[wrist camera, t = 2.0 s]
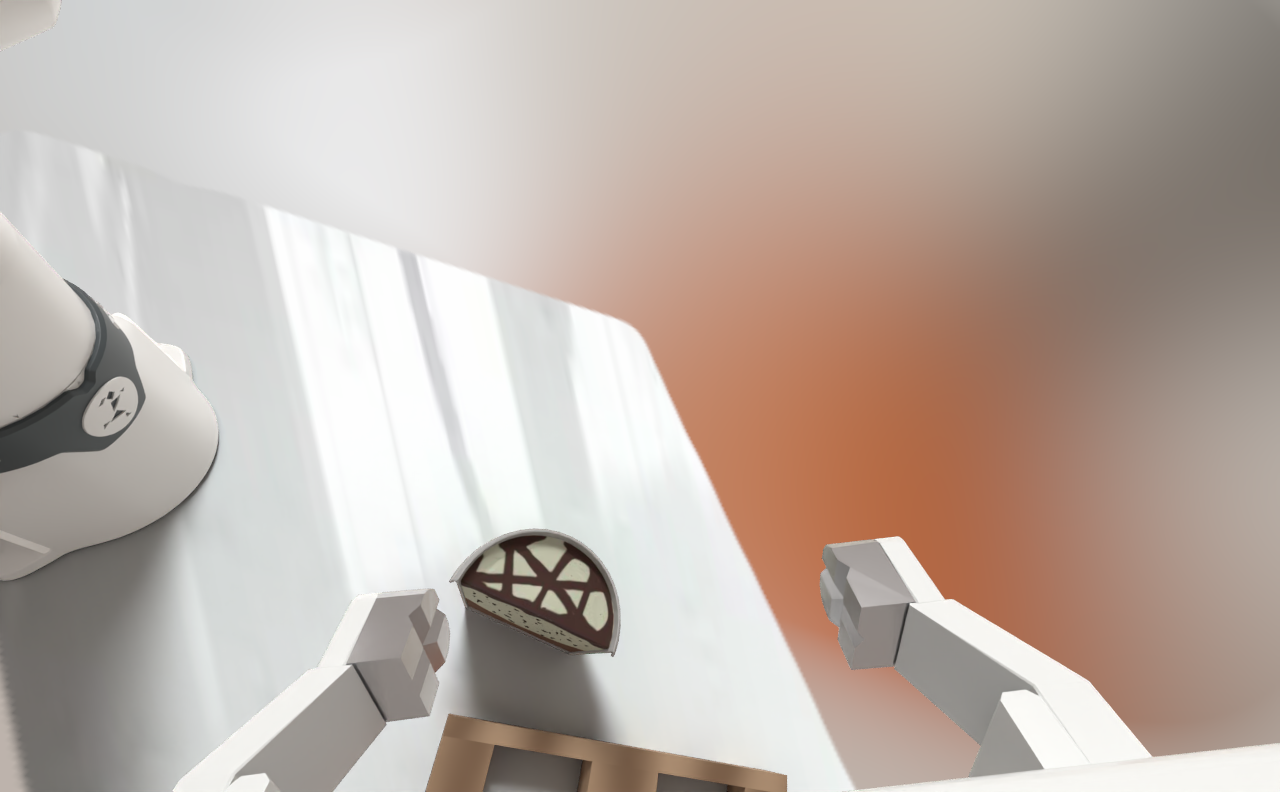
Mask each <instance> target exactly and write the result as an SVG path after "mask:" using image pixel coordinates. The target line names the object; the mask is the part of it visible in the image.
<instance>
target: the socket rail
mask: <svg viewBox="0 0 1280 792" xmlns="http://www.w3.org/2000/svg"><path fill="white" fill-rule="evenodd" d="M494 745H499V746H505V747H511V748H517V749H523V750H529V751H535V752H540V753H546V754H552V755H558V756H564V757H570V758H576V759H581V760H583V761H582V766H581V772H580V778H579V783H578V789H577V792H656V789H657V780H658V773H663V774H669V775H675V776H681V777H687V778H692V779H698V780H704V781H710V782H716V783H722V784H727V792H787V775H783V774H779V773H775V772H770V771H766V770H760V769H755V768H749V767H744V766H738V765H732V764H727V763H721V762H716V761H710V760H705V759H699V758H693V757H688V756H682V755H677V754H671V753H665V752H660V751H654V750H649V749H643V748H638V747H632V746H626V745H621V744H615V743H610V742H604V741H598V740H593V739H587V738H582V737H576V736H571V735H565V734H559V733H554V732H548V731H543V730H537V729H531V728H526V727H520V726H515V725H509V724H504V723H498V722H492V721H487V720H481V719H476V718H470V717H464V716H459V715H453V714H448V718H447V721H446V724H445V728H444V731H443V734H442V738H441V741H440V744H439V748H438V751H437V754H436V758H435V761H434V764H433V768H432V771H431V774H430V778H429V781H428V784H427V788H426V791H425V792H483V788H484V784H485V780H486V776H487V772H488V768H489V764H490V760H491V756H492V753H493V749H494Z"/></svg>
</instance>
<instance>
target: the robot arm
mask: <svg viewBox="0 0 1280 792" xmlns="http://www.w3.org/2000/svg"><path fill="white" fill-rule="evenodd" d="M61 1H62V0H0V51H3V50H5V49H7V48H9V47H11V46H14V45H16V44H18V43H20V42H22V41H25V40H27V39H29V38H32V37H34V36H36V35H38V34H40V33H43V32H45V31H47V30H49V29H52V28H53V27H54V26H55V24H56V22H57V18H58V15H59V12H60V9H61ZM218 433H219V432H218V423H217V419H216V416H215V413H214V411H213V408H212V407H211V405H210V403H209V402H208V400H207V399H206V398H205V397H204V395H203V394H202V393H201V392H200V391H199V389H198V388H197V387H196V385H195V384H194V382H193V376H192V367H191V362H190V359H189V357H188V356H187V354H186V353H185V352H183V351H182V350H181V349H180V348H179V347H177V346H174V345H169V344H161V343H156V342H155V341H154V340H152V339H151V338H150V337H149V336H148V335H147V334H146V333H145V332H144V331H143V330H142V329H141V328H140V327H139V326H137V325H136V324H135V323H134V322H133V321H132V320H131V319H130V318H128V317H127V316H125V315H123V314H120V313H115V314H110V313H108V312H107V310H106V309H105V308H103V307H102V306H101V305H100V304H99V303H98V302H97V301H94V300H93V298H92V297H90V296H88V295H87V294H86V293H85V292H84V291H83V290H81V289H80V288H79V287H77V286H76V285H74V284H72V283H70V282H69V281H67V280H65V279H63V278H61V277H60V276H59V274H58V273H57V272H56V271H55V270H54V269H53V268H52V267H51V266H50V265H49V264H48V263H47V261H46V260H45V259H44V258H43V257H42V256H41V255H40V254H39V253H38V252H37V251H36V249H35V248H34V247H33V246H32V245H31V244H30V243H29V242H28V241H27V240H26V239H25V238H24V236H23V235H22V234H21V233H20V232H19V231H18V230H17V229H16V228H15V227H14V226H13V225H12V223H11V222H10V221H9V220H8V219H7V218H6V217H5V216H4V215H3V214H2V213H1V212H0V580H3V581H8V580H14V579H18V578H20V577H23V576H25V575H28V574H30V573H32V572H34V571H36V570H38V569H40V568H41V567H43V566H45V565H47V564H48V563H50V562H52V561H54V560H55V559H57V558H59V557H61V556H62V555H64V554H66V553H69V552H71V551H74V550H77V549H80V548H84V547H88V546H91V545H95V544H99V543H103V542H107V541H110V540H113V539H117V538H119V537H122V536H125V535H127V534H130V533H132V532H135V531H137V530H139V529H141V528H143V527H145V526H147V525H149V524H151V523H152V522H154V521H156V520H158V519H159V518H161V517H162V516H164V515H165V514H167V513H168V512H170V511H171V510H172V509H174V508H175V507H176V506H177V505H179V504H180V503H181V502H182V501H183V500H184V499H185V498H186V497H187V496H188V495H189V494H190V493H191V492H192V491H193V490H194V489H195V488H196V487H197V486H198V484H199V483H200V482H201V480H202V479H203V477H204V476H205V474H206V473H207V471H208V469H209V468H210V466H211V464H212V461H213V459H214V456H215V453H216V450H217V445H218ZM822 559H823V561H824V563H825V565H826V569H825V570H824V571H823V572H822V573H821V575H820V576H821V577H820V590H821V598H822V602H823V605H824V608H825V611H826V613H827V616H828V618H829V620H830V621H831V622H833V623H834V624H835V625H837V626H838V627H839V634H838V641H839V644H840V646H841V648H842V650H843V653H844V655H845V657H846V659H847V661H848V664H849V666H850V668H851V670H855V669H868V668H879V667H893V666H895V668H894V669H895V670H896V671H898V672H899V673H900V674H901V675H902V676H903V677H904V678H905V679H907V680H908V681H909V682H910V683H911V684H912V685H913V686H914V687H915V688H917V689H918V690H919V691H920V692H921V693H922V694H924V696H926V697H927V698H928V699H929V700H930V701H931V702H932V703H933V704H935V705H936V706H937V707H938V708H939V709H940V710H941V711H943V713H945V714H946V715H947V716H948V717H949V718H950V719H951V720H953V721H954V722H955V723H956V724H957V725H958V726H959V727H960V728H962V729H963V730H964V731H965V732H966V733H967V734H968V735H969V736H971V737H972V738H973V739H974V740H975V741H976V742H977V743H978V744H979V745H981V747H980V749H979V752H978V754H977V757H976V759H975V762H974V764H973V767H972V769H971V772H970V774H969V778H961V779H952V780H943V781H935V782H925V783H917V784H907V785H898V786H889V787H880V788H871V789H862V790H853V791H844V792H1280V743H1276V744H1268V745H1258V746H1250V747H1241V748H1231V749H1222V750H1213V751H1204V752H1195V753H1186V754H1177V755H1169V756H1159V757H1152V756H1151V755H1150V754H1149V752H1148V751H1147V750H1146V749H1145V748H1144V746H1142V744H1141V743H1140V742H1139V740H1138V739H1137V738H1136V737H1135V736H1134V735H1133V733H1132V732H1131V731H1130V730H1129V729H1128V727H1127V726H1126V725H1125V724H1124V723H1123V722H1122V720H1121V719H1120V718H1119V717H1118V715H1117V714H1116V713H1115V712H1114V711H1113V709H1112V708H1111V707H1110V706H1109V705H1108V703H1107V702H1106V701H1105V700H1104V699H1103V697H1102V696H1101V695H1100V694H1099V693H1098V691H1097V690H1096V689H1095V688H1094V687H1093V686H1092V684H1091V683H1090V682H1089V681H1088V680H1086V679H1085V678H1083V677H1081V676H1080V675H1078V674H1076V673H1074V672H1073V671H1071V670H1070V669H1068V668H1066V667H1064V666H1063V665H1061V664H1060V663H1058V662H1056V661H1054V660H1053V659H1051V658H1050V657H1048V656H1046V655H1045V654H1043V653H1041V652H1040V651H1038V650H1036V649H1035V648H1033V647H1031V646H1030V645H1028V644H1026V643H1024V642H1023V641H1021V640H1019V639H1018V638H1016V637H1015V636H1013V635H1011V634H1010V633H1008V632H1006V631H1005V630H1003V629H1001V628H1000V627H998V626H996V625H995V624H993V623H991V622H990V621H988V620H986V619H985V618H983V617H981V616H980V615H978V614H976V613H974V612H973V611H971V610H970V609H968V608H966V607H965V606H963V605H961V604H960V603H958V602H956V601H955V600H953V599H950V600H945V599H944V598H943V596H942V595H941V593H940V592H939V590H938V589H937V588H936V586H935V585H934V583H933V582H932V580H931V579H930V577H929V576H928V575H927V573H926V572H925V570H924V569H923V567H922V566H921V564H920V563H919V562H918V560H917V559H916V557H915V556H914V554H913V553H912V552H911V550H910V549H909V547H908V546H907V544H906V543H905V541H904V540H903V539H901V538H900V537H890V538H881V539H874V540H863V541H854V542H846V543H838V544H829V545H826V546H825V548H824V549H823V556H822ZM438 603H439V598H438V596H437V594H436V592H435V590H434V589H417V590H405V591H393V592H382V593H374V594H362V595H358V596H357V597H355V598H354V599H353V600H352V601H351V603H350V605H349V607H348V609H347V610H346V612H345V614H344V616H343V618H342V620H341V622H340V624H339V626H338V628H337V630H336V632H335V634H334V636H333V637H332V639H331V641H330V643H329V645H328V647H327V649H326V651H325V653H324V655H323V657H322V659H321V661H320V663H319V664H318V666H317V668H315V669H309V670H308V671H306V672H305V673H304V674H303V675H302V676H301V677H299V678H298V679H297V680H296V681H295V682H294V683H292V684H291V685H290V686H289V687H288V688H287V689H285V690H284V691H283V692H282V693H281V694H280V695H278V696H277V697H276V698H275V699H274V700H272V701H271V702H270V703H269V704H268V705H267V706H265V707H264V708H263V709H262V710H261V711H260V712H258V713H257V714H256V715H255V716H254V717H253V718H251V719H250V720H249V721H248V722H247V723H246V724H244V725H243V726H242V727H241V728H240V729H239V730H237V731H236V732H235V733H234V734H233V735H232V736H230V737H229V738H228V739H227V740H226V741H225V742H223V743H222V744H221V745H220V746H219V747H217V748H216V749H215V750H214V751H213V752H212V753H210V754H209V755H208V756H207V757H206V758H205V759H203V760H202V761H201V762H200V763H199V764H198V765H196V766H195V767H194V768H193V769H192V770H191V771H189V772H188V773H187V774H186V775H185V776H184V777H182V778H181V779H180V780H179V782H178V783H177V785H176V786H175V788H174V789H173V791H172V792H333V791H334V789H335V788H336V787H337V786H338V784H339V783H340V782H341V781H342V779H343V778H344V777H345V776H346V774H347V773H348V772H349V771H350V769H351V768H352V767H353V766H354V764H355V763H356V762H357V761H358V760H359V758H360V757H361V756H362V755H363V753H364V752H365V751H366V750H367V748H368V747H369V746H370V745H371V743H372V742H373V741H374V740H375V738H376V737H377V736H378V735H379V733H380V732H381V731H382V730H383V728H384V727H385V726H386V722H390V721H397V720H404V719H412V718H419V717H426V716H430V713H431V710H432V706H433V703H434V699H435V696H436V693H437V689H438V686H439V681H438V679H437V677H436V674H435V672H436V671H437V670H438V669H439V668H440V667H441V666H442V665H443V664H444V663H445V662H446V658H447V654H448V650H449V641H450V630H449V623H448V620H447V618H446V615H445V614H444V613H442V612H440V611H439V610H437V606H438Z"/></svg>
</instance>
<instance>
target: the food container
mask: <svg viewBox="0 0 1280 792" xmlns="http://www.w3.org/2000/svg"><path fill="white" fill-rule="evenodd" d="M454 581H455V582H457V585H458V588H459V591H460V594H461V597H462V600H463V602H464V605H465V607H466V608H468V609H471V610H473V611H475V612H477V613H479V614H482V615H484V616H486V617H488V618H490V619H493V620H495V621H497V622H499V623H501V624H504V625H506V626H508V627H510V628H512V629H515V630H517V631H519V632H521V633H523V634H526V635H528V636H530V637H532V638H534V639H537V640H539V641H541V642H543V643H545V644H548V645H550V646H552V647H554V648H556V649H559V650H561V651H563V652H565V653H567V654H570V655H578V654H595V653H612V654H611V656H612V657H613V656H614V655H615V652H616V648H617V645H618V641H619V634H620V626H621V624H620V605H619V599H618V595H617V591H616V588H615V585H614V582H613V580H612V578H611V576H610V574H609V572H608V570H607V569H606V567H605V566H604V564H603V563H602V561H601V560H600V559H599V558H598V557H597V556H596V554H595V553H594V552H593V551H592V550H590V549H589V548H588V547H587V546H586V545H584V544H583V543H582V542H580V541H578V540H576V539H575V538H573V537H571V536H568V535H566V534H563V533H561V532H557V531H552V530H548V529H525V530H519V531H515V532H511V533H507V534H504V535H502V536H500V537H497V538H495V539H493V540H491V541H489V542H488V543H486V544H484V545H483V546H481V547H480V548H478V549H477V550H476V551H475V552H473V553H472V554H471V555H470V556H469V557H468V558H466V560H465V561H464V562H463V563H462V564H461V565H460V566H459V568H458V569H457V570H456V571H455V573H454V574H453V576H452V578H451V579H450V581H449V582H450V583H451V582H454Z"/></svg>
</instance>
